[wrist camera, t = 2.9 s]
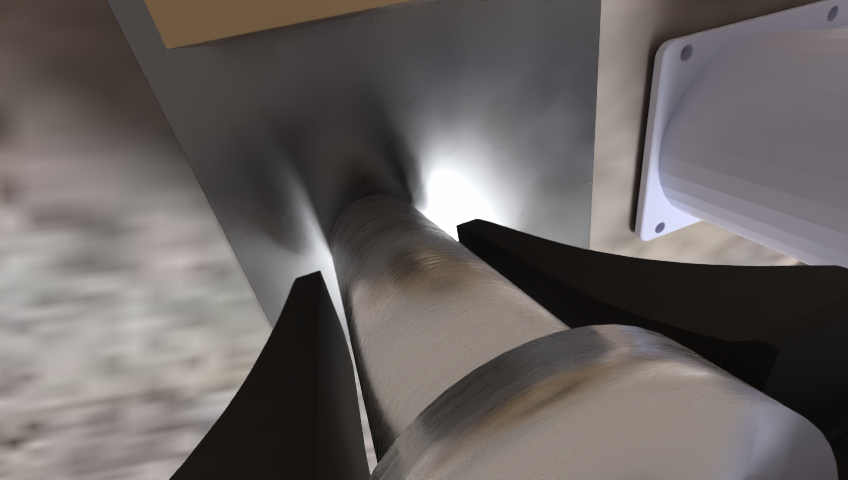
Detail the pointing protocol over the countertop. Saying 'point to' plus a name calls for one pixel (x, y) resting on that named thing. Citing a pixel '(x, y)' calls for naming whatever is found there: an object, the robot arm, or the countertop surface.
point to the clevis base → (374, 116)
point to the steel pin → (535, 377)
